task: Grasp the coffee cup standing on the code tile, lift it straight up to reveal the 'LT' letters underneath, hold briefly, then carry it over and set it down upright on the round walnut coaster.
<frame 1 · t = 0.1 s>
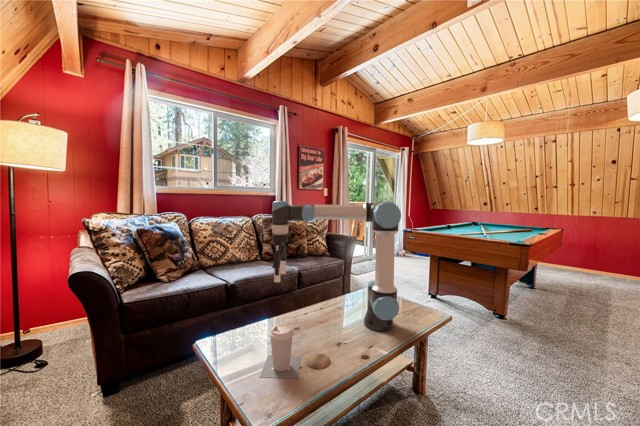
hand: (280, 277, 130), 28 cm above the table, fingers open, 13 cm apart
coffee cup: (281, 366, 107), resting on code tile
code tile: (281, 366, 107), on the table
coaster: (317, 361, 110), on the table
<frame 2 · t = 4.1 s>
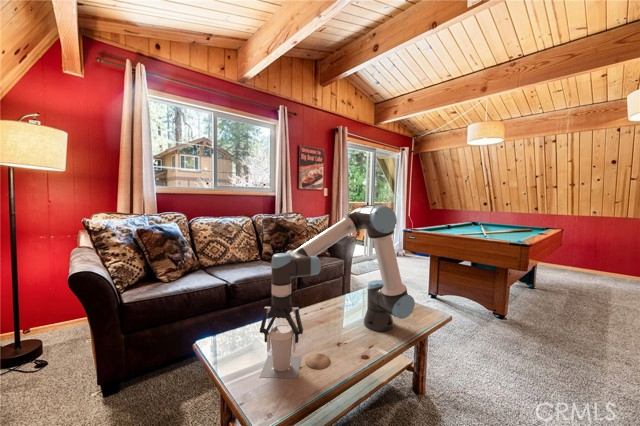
hand: (281, 350, 107), 7 cm above the table, fingers closed on coffee cup, 9 cm apart
coffee cup: (281, 366, 107), resting on code tile, touching gripper
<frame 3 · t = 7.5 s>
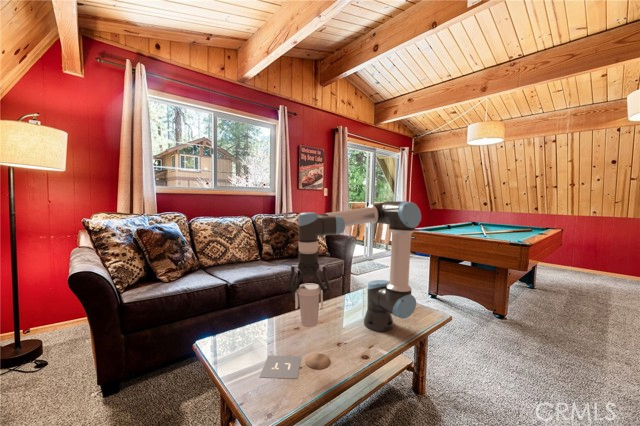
hand: (309, 307, 109), 23 cm above the table, fingers closed on coffee cup, 9 cm apart
coffee cup: (309, 323, 109), point 16 cm above the table, touching gripper
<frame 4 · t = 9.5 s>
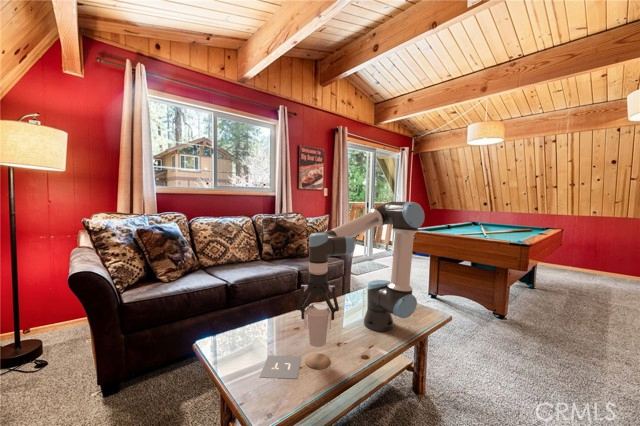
hand: (317, 327, 110), 14 cm above the table, fingers closed on coffee cup, 9 cm apart
coffee cup: (317, 343, 110), point 8 cm above the table, touching gripper
when the fingers open (8 cm above the table, at t = 11.1 s): coffee cup drops 2 cm, resting on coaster.
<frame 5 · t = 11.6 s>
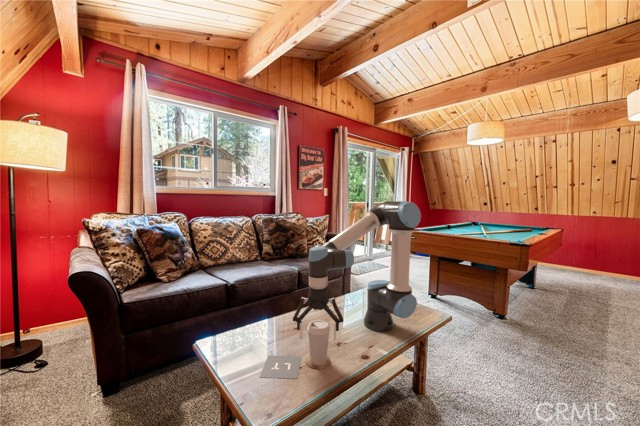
hand: (317, 338, 110), 10 cm above the table, fingers open, 13 cm apart
coffee cup: (318, 361, 110), resting on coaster
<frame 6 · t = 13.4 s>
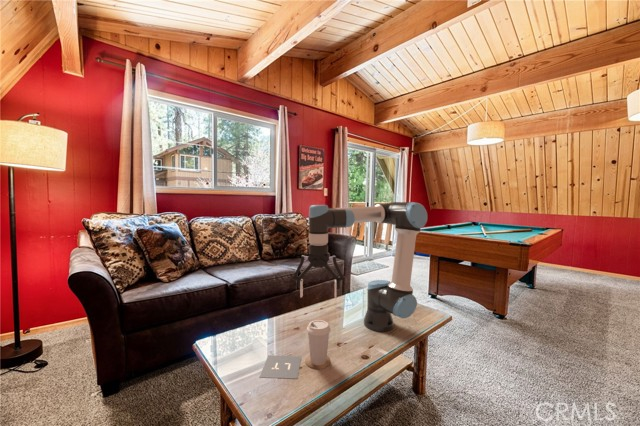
hand: (318, 296, 109), 27 cm above the table, fingers open, 13 cm apart
nothing on the table moved.
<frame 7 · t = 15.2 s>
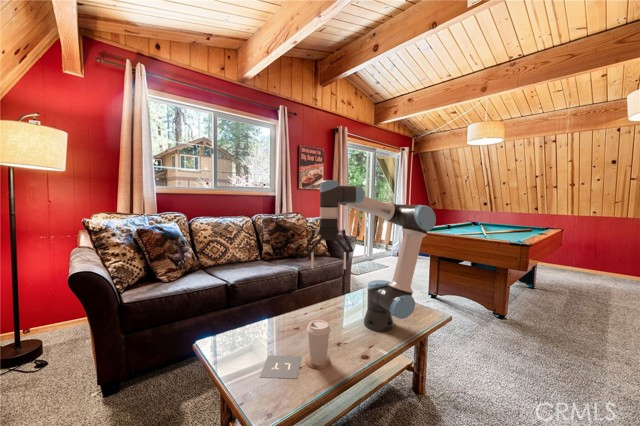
hand: (328, 268, 114), 37 cm above the table, fingers open, 13 cm apart
nothing on the table moved.
at the end: coffee cup 0.3 cm from the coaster (horizontally); coffee cup tilted 0°; coffee cup touching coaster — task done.
